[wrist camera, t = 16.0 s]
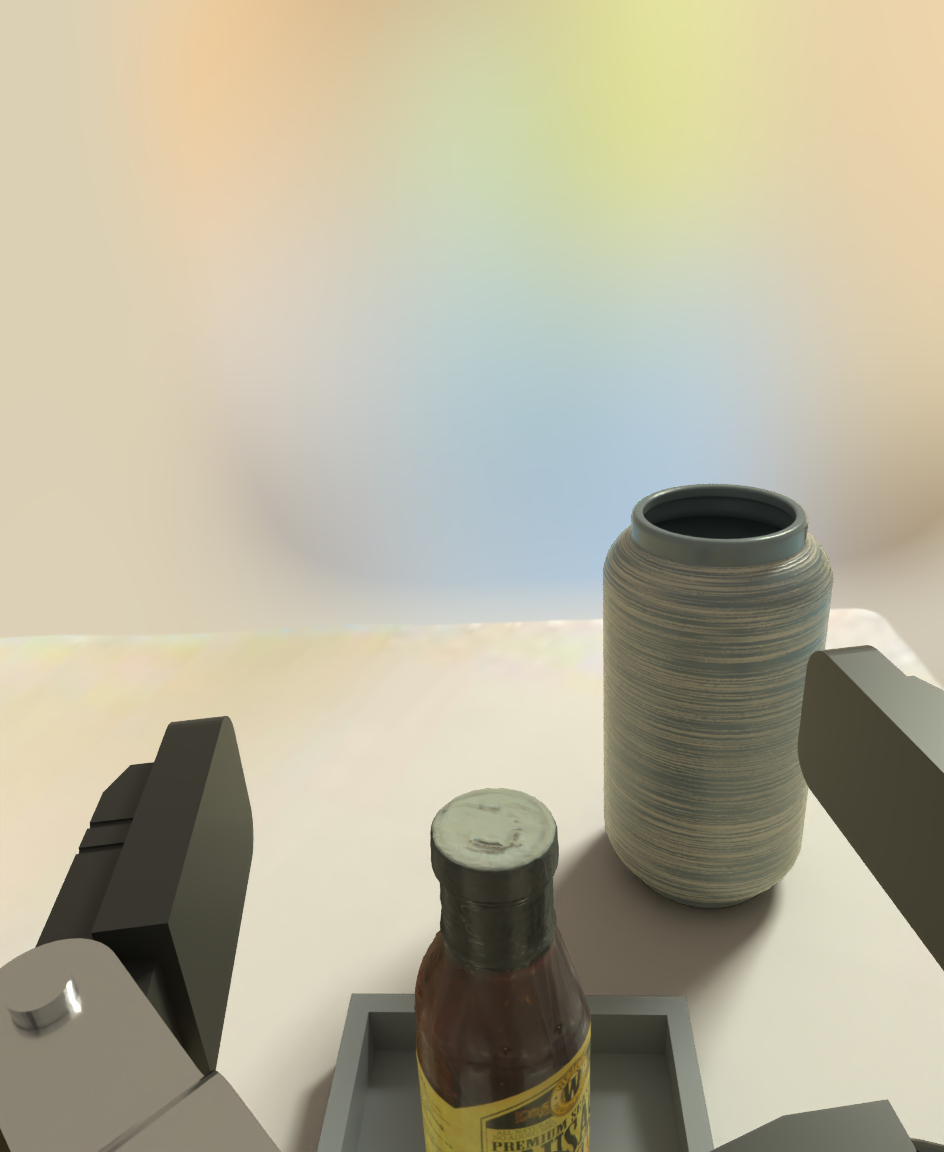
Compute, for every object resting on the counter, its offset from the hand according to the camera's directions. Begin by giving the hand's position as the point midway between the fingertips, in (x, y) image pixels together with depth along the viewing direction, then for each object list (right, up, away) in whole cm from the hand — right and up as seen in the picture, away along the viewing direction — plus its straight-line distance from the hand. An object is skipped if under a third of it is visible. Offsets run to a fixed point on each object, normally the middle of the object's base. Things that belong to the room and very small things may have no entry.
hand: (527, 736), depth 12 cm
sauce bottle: (+1, -24, +23) cm, 33 cm away
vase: (+13, -15, +41) cm, 46 cm away
